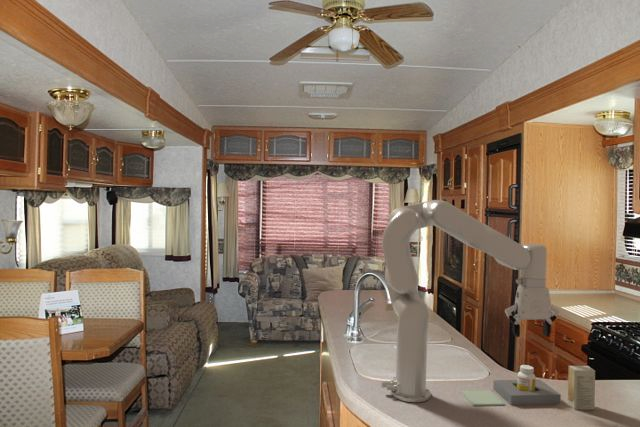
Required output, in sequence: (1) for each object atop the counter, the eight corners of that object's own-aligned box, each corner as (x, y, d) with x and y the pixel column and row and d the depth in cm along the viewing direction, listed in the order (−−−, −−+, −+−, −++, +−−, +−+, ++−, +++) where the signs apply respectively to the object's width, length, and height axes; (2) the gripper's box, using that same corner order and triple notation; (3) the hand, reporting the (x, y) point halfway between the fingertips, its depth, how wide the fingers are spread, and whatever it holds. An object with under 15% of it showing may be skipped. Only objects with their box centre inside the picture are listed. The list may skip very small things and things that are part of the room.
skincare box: (587, 404, 149) (589, 365, 148) (594, 410, 144) (596, 370, 144) (566, 403, 149) (567, 364, 148) (573, 409, 144) (574, 369, 144)
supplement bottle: (521, 400, 151) (523, 370, 150) (513, 393, 156) (514, 364, 156) (538, 399, 151) (539, 369, 151) (529, 392, 156) (530, 363, 156)
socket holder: (510, 405, 147) (511, 395, 147) (493, 389, 159) (493, 380, 159) (560, 403, 148) (560, 394, 148) (539, 388, 160) (539, 379, 160)
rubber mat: (473, 405, 146) (473, 404, 146) (460, 392, 156) (460, 390, 156) (504, 405, 147) (504, 403, 147) (490, 391, 157) (490, 390, 157)
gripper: (511, 285, 148) (509, 339, 149) (565, 285, 149) (564, 339, 150) (501, 280, 156) (499, 332, 157) (553, 280, 157) (551, 332, 157)
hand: (531, 335), depth 153 cm, fingers open, 9 cm apart
